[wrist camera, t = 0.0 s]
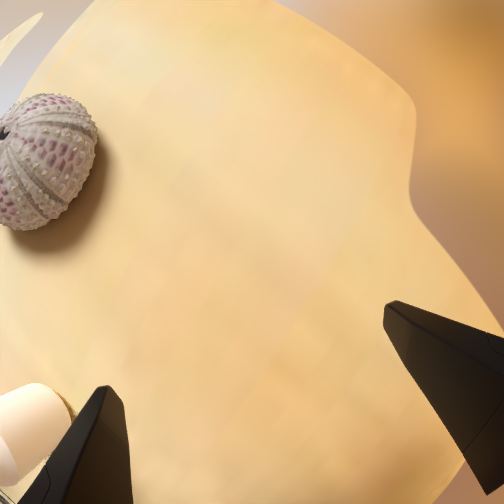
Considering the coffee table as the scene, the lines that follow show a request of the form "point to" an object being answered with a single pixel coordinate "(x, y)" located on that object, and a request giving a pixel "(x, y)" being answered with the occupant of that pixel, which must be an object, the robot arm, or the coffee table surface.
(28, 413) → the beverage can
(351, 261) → the coffee table surface
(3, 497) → the coffee can
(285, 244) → the coffee table surface
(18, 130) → the sea urchin shell
